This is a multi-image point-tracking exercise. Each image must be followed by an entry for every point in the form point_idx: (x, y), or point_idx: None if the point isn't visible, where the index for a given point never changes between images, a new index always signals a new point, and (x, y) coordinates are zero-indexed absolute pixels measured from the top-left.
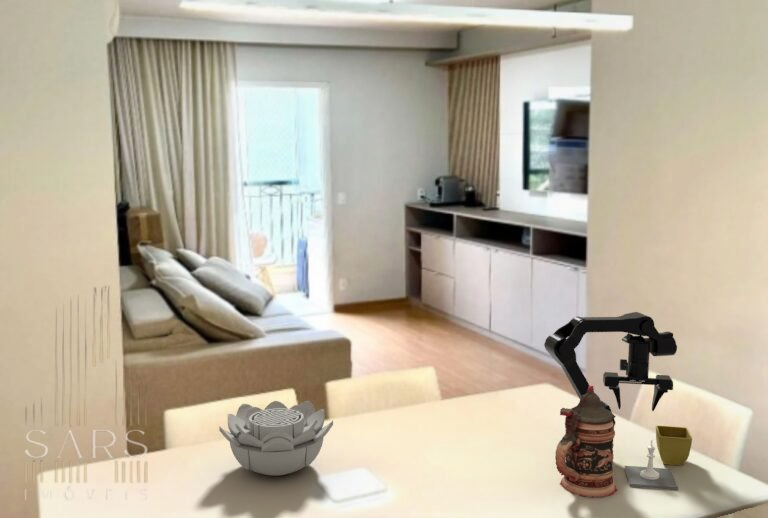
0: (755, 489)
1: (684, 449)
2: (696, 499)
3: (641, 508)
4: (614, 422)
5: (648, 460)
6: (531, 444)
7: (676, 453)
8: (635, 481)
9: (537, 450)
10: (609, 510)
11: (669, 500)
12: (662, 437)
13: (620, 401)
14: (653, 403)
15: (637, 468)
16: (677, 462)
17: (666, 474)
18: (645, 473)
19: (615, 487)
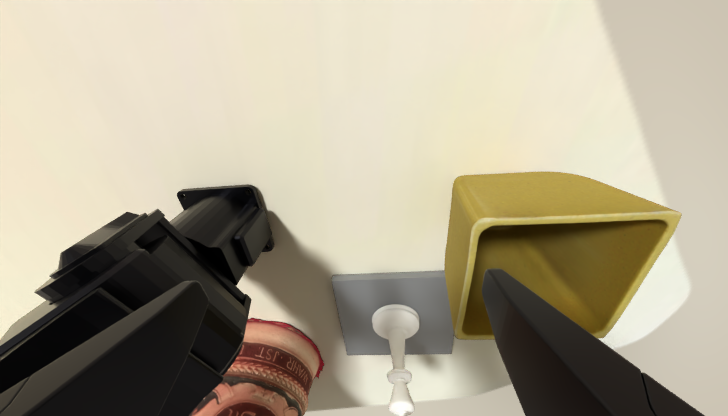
0: (652, 318)
1: (542, 291)
2: (477, 369)
3: (368, 400)
4: (236, 350)
5: (392, 361)
6: (3, 166)
7: None
8: (359, 346)
9: (58, 211)
10: (317, 408)
11: (421, 377)
12: (466, 337)
13: (162, 405)
14: (520, 391)
15: (366, 290)
16: (498, 242)
17: (440, 307)
18: (383, 336)
19: (319, 355)
